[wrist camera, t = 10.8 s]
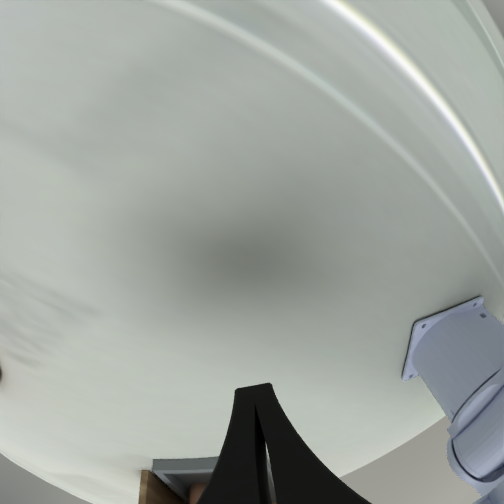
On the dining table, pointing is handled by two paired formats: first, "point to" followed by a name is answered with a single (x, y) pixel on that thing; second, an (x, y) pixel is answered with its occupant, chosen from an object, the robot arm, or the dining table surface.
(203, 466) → the tray
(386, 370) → the dining table surface
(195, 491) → the peg
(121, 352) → the dining table surface
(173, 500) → the wooden l-shaped bracket
